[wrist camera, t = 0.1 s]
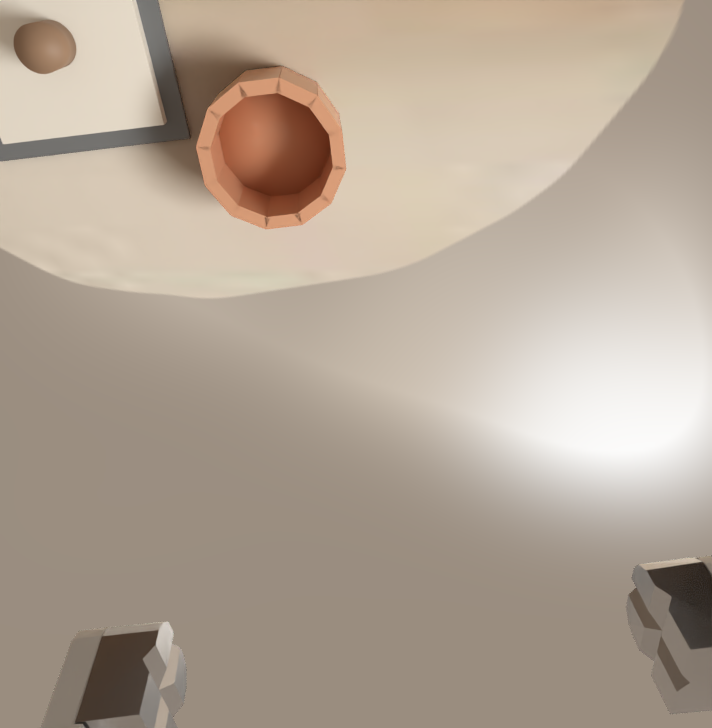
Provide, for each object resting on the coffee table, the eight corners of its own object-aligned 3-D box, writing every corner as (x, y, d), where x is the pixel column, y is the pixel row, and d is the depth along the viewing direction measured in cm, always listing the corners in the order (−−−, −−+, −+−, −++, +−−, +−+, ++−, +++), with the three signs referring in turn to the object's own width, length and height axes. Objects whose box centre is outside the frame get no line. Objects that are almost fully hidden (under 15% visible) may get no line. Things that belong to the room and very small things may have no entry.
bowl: (195, 76, 50) (182, 89, 44) (332, 59, 49) (335, 70, 44) (225, 210, 56) (216, 235, 50) (348, 195, 55) (351, 218, 50)
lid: (-66, -50, 44) (-101, -51, 40) (117, -72, 44) (99, -76, 40) (9, 140, 51) (-15, 154, 47) (167, 121, 51) (155, 133, 47)
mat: (-95, -73, 43) (-98, -73, 43) (133, -101, 43) (132, -101, 43) (0, 160, 52) (-2, 161, 52) (190, 137, 52) (189, 138, 52)
